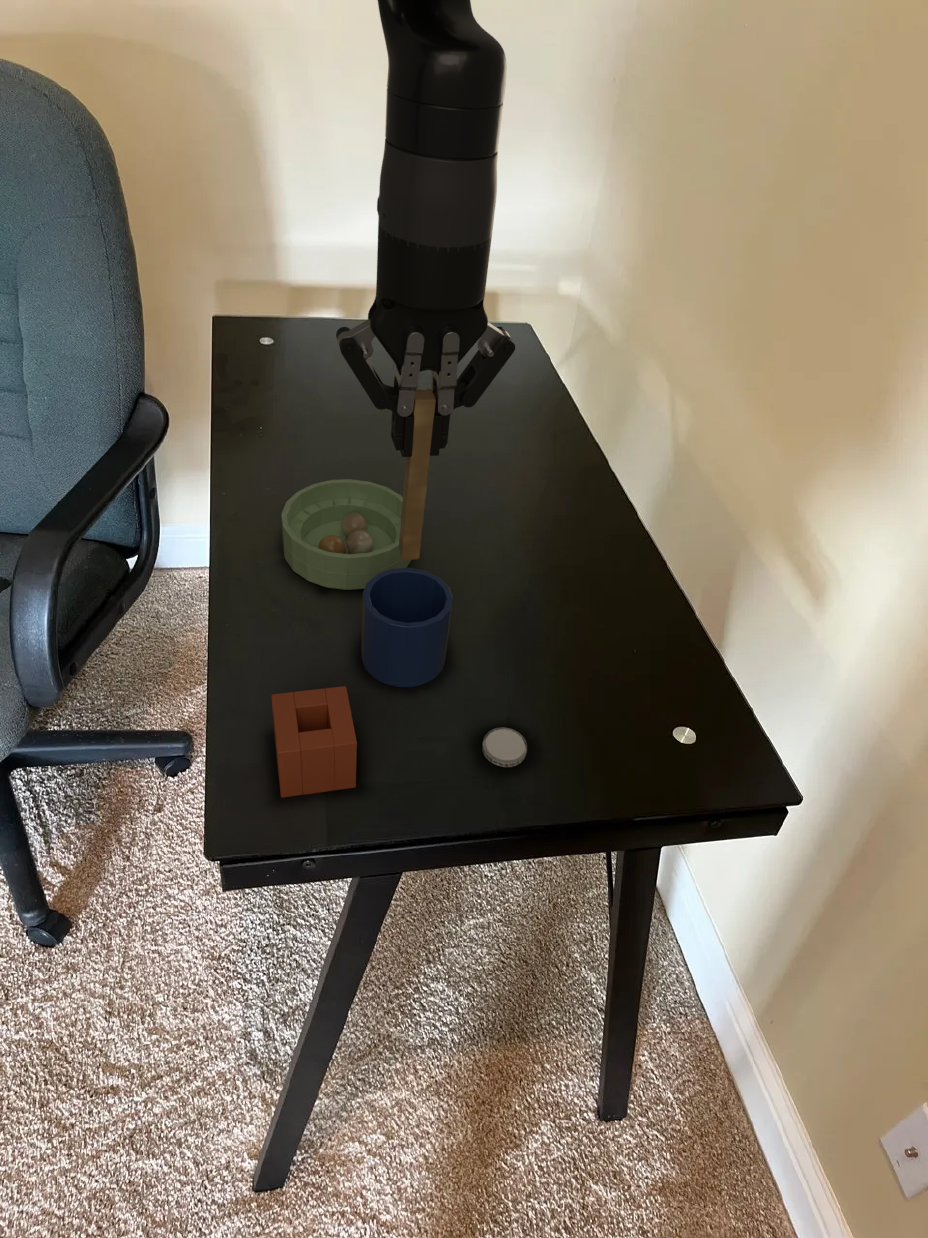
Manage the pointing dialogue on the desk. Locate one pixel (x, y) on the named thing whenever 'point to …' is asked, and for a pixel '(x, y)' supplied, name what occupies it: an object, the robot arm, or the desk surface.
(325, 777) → the holder
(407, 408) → the robot arm
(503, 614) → the desk surface
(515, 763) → the grey bottle cap
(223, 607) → the desk surface
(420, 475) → the stick
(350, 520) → the bead
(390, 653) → the crock
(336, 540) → the bead
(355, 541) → the bead
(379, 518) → the bowl
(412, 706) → the desk surface
